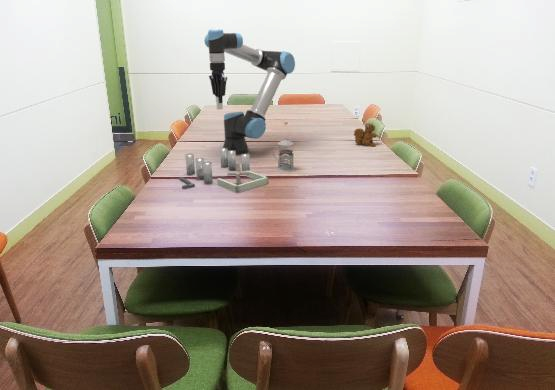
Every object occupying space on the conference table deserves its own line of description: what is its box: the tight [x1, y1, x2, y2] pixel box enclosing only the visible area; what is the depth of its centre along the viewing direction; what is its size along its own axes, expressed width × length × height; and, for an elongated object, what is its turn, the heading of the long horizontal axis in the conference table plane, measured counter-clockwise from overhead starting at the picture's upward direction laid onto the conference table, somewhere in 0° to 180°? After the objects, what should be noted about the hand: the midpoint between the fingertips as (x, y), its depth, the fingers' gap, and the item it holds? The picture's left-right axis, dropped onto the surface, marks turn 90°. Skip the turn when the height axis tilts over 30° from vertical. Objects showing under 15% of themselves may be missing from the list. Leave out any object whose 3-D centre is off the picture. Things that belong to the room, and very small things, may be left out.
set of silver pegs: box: [184, 147, 251, 185], centre depth 226 cm, size 26×23×10 cm
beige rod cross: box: [226, 161, 249, 185], centre depth 212 cm, size 10×10×10 cm
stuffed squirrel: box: [353, 123, 378, 148], centre depth 278 cm, size 10×14×13 cm
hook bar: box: [178, 176, 196, 190], centre depth 213 cm, size 14×6×1 cm, turn 36°
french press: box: [272, 121, 296, 173], centre depth 229 cm, size 10×12×25 cm
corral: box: [216, 170, 269, 194], centre depth 212 cm, size 19×15×3 cm
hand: (219, 109), depth 234 cm, fingers closed
